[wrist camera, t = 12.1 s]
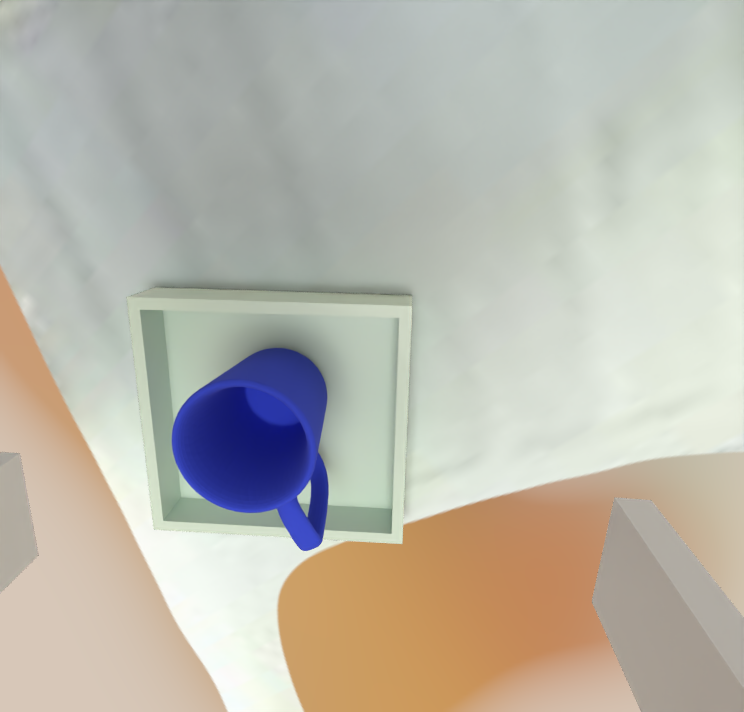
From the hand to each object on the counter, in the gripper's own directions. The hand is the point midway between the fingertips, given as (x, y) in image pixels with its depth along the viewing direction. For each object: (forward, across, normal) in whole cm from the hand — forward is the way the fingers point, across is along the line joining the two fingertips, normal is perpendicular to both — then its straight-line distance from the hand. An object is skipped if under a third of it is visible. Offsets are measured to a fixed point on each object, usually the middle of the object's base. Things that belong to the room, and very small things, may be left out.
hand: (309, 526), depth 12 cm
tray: (+26, -6, -9) cm, 28 cm away
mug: (+26, -6, -9) cm, 28 cm away
